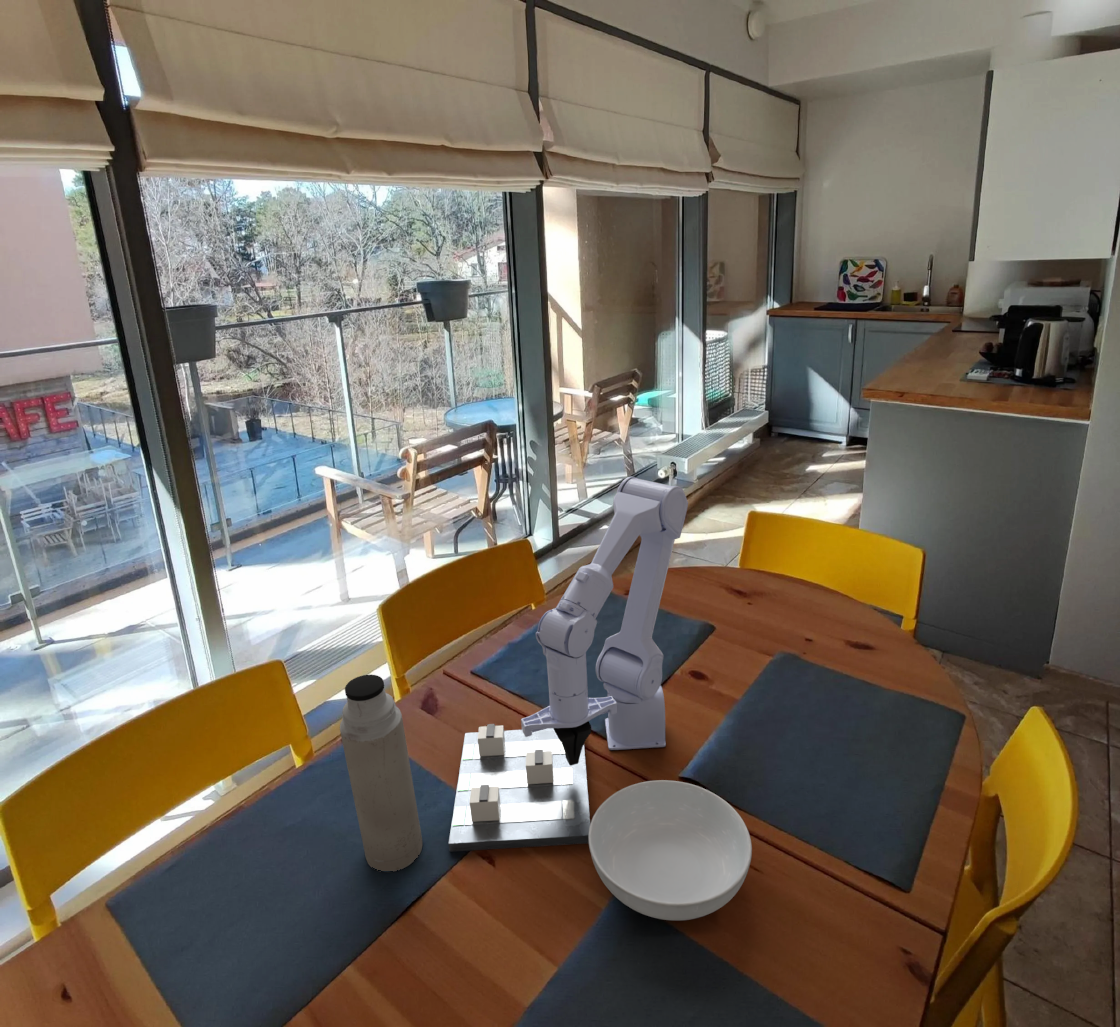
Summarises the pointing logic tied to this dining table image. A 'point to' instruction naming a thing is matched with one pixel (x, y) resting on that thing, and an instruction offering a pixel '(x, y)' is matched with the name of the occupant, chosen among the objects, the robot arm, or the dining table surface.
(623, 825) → the serving bowl
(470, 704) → the dining table surface
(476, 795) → the block
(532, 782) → the block
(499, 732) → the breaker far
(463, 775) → the panel
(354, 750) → the thermos bottle
